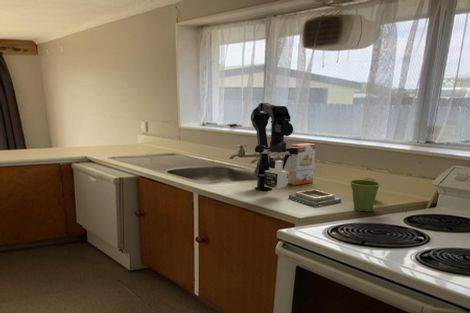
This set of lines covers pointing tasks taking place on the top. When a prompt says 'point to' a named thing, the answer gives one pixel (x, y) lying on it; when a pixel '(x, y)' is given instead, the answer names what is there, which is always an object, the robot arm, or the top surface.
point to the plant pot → (364, 194)
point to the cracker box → (302, 164)
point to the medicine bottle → (275, 175)
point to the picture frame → (315, 197)
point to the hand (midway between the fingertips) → (275, 168)
